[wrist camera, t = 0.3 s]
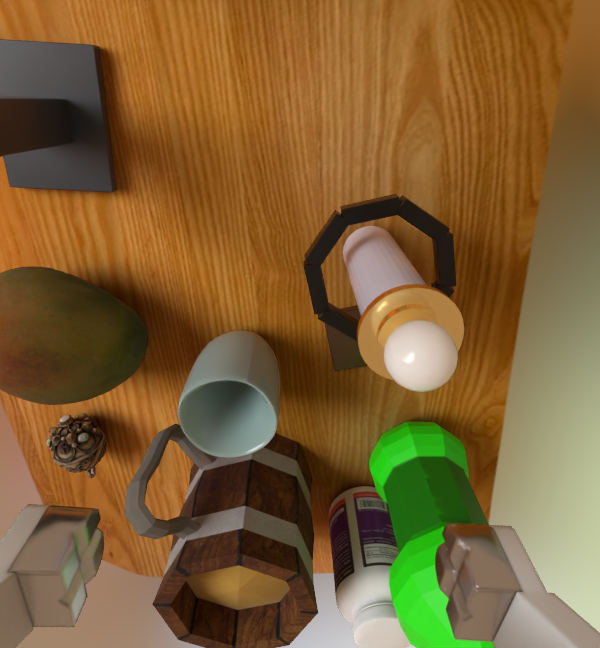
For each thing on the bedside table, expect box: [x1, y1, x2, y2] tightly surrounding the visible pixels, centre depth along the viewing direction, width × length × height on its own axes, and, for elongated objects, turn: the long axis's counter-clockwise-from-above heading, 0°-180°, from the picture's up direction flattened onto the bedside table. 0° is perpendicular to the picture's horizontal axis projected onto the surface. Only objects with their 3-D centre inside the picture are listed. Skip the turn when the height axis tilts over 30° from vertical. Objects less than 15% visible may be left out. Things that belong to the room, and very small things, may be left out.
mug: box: [125, 424, 318, 648], centre depth 43 cm, size 20×14×15 cm
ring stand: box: [304, 194, 456, 371], centre depth 37 cm, size 16×11×7 cm, turn 12°
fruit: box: [0, 267, 148, 405], centre depth 37 cm, size 12×13×10 cm
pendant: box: [47, 413, 107, 478], centre depth 45 cm, size 5×8×5 cm, turn 12°
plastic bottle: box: [369, 421, 495, 648], centre depth 37 cm, size 10×10×25 cm
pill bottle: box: [329, 486, 410, 648], centre depth 46 cm, size 8×8×14 cm
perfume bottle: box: [343, 226, 464, 392], centre depth 30 cm, size 6×6×20 cm
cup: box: [178, 330, 281, 458], centre depth 39 cm, size 8×8×10 cm
